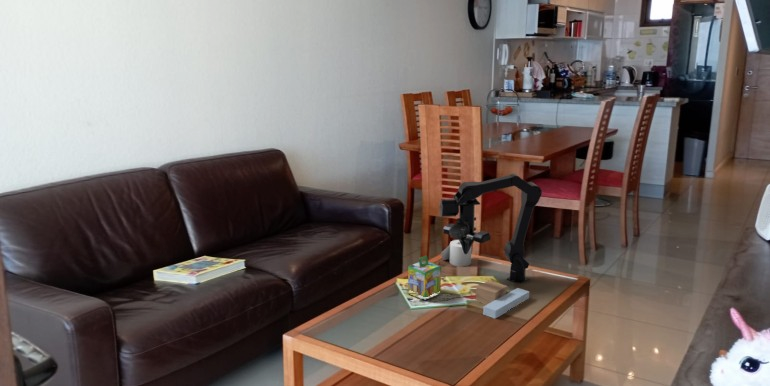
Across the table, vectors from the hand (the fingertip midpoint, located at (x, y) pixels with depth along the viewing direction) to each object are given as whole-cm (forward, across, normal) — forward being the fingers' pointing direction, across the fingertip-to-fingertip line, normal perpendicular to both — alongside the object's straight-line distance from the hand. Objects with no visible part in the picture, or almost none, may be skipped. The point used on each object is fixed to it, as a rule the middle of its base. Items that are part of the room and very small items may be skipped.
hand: (465, 253), depth 245 cm
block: (+12, +17, -8) cm, 23 cm away
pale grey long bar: (+12, +24, -8) cm, 28 cm away
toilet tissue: (+12, -16, +16) cm, 25 cm away
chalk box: (+12, -5, -20) cm, 24 cm away
